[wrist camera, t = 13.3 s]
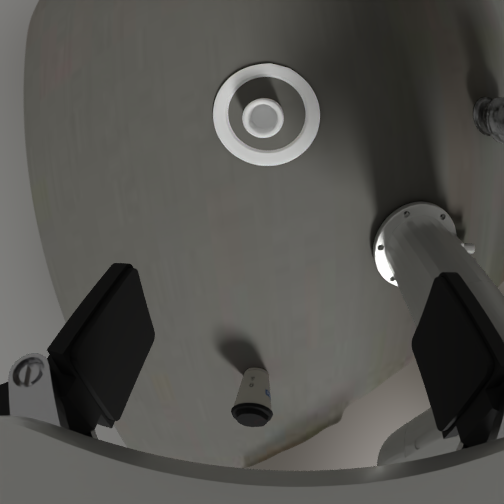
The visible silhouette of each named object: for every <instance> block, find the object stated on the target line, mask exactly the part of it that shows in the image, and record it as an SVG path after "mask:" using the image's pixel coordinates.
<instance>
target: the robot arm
mask: <svg viewBox="0 0 504 504" xmlns="http://www.w3.org/2000/svg"><path fill="white" fill-rule="evenodd" d="M405 211H406V212H405ZM404 212H405V213H404ZM379 245H380V246H379ZM474 251H475V246H474V244H472V243H465V244H463V242H462V241H461V240H460V239H459V238H458V237H457V234H456V228H455V225H454V223H453V220H452V219H451V217H450V216H449V215H448V213H447V212H446V211H444V210H443V209H442V208H441V207H439V206H437V205H436V204H433V203H430V202H413V203H409V204H406V205H404V206H402V207H400V208H398V209H396V210H395V211H394V212H393V213H391V214H390V215H389V216H388V217H387V218H386V219H385V221H384V222H383V223H382V225H381V226H380V228H379V229H378V232H377V234H376V237H375V240H374V244H373V257H374V262H375V265H376V267H377V269H378V271H379V273H380V275H381V276H382V277H383V278H384V279H385V280H386V281H388V282H389V283H391V284H393V285H396V286H398V287H399V289H400V291H401V293H402V295H403V298H404V300H405V302H406V304H407V306H408V309H409V311H410V313H411V316H412V318H413V320H414V322H415V325H416V327H417V329H416V331H415V334H414V336H413V339H412V350H413V353H414V355H415V358H416V361H417V364H418V367H419V370H420V373H421V376H422V379H423V382H424V385H425V388H426V392H427V395H428V398H429V402H430V405H431V408H429V409H428V410H426V411H425V412H423V413H422V414H420V415H418V416H417V417H415V418H414V419H412V420H411V421H409V422H408V423H406V424H405V425H403V426H402V427H400V428H399V429H397V430H396V431H395V432H394V433H392V434H391V435H390V436H389V437H388V438H387V440H386V441H385V442H384V444H383V445H382V447H381V449H380V452H379V456H378V461H377V466H374V467H365V468H354V469H341V470H320V471H278V470H258V469H244V468H233V467H224V466H216V465H209V464H202V463H195V462H189V461H183V460H178V459H173V458H168V457H163V456H158V455H154V454H149V453H145V452H141V451H137V450H133V449H130V448H125V447H122V446H119V445H115V444H112V443H108V442H105V441H102V440H98V438H97V435H96V433H95V430H94V429H95V427H96V425H97V424H99V425H102V426H106V427H109V428H112V427H113V424H114V422H115V421H118V420H119V419H120V417H121V415H122V413H123V410H124V408H125V406H126V403H127V401H128V398H129V396H130V394H131V391H132V389H133V387H134V384H135V382H136V380H137V378H138V375H139V373H140V371H141V368H142V366H143V364H144V362H145V359H146V357H147V355H148V353H149V351H150V348H151V346H152V344H153V342H154V338H155V332H154V328H153V325H152V321H151V318H150V315H149V311H148V308H147V304H146V300H145V297H144V293H143V289H142V285H141V282H140V278H139V274H138V271H137V269H134V268H133V266H132V265H131V264H124V263H114V264H112V265H111V267H110V268H109V269H108V270H107V271H106V273H105V274H104V275H103V276H102V278H101V279H100V280H99V281H98V282H97V284H96V285H95V286H94V287H93V289H92V290H91V291H90V292H89V294H88V295H87V296H86V298H85V299H84V300H83V301H82V303H81V304H80V305H79V307H78V308H77V309H76V310H75V312H74V313H73V314H72V316H71V317H70V318H69V320H68V321H67V322H66V324H65V325H64V327H63V328H62V329H61V331H60V332H59V333H58V335H57V336H56V338H55V339H54V340H53V342H52V343H51V345H50V346H49V347H48V349H47V351H48V352H49V354H50V355H49V356H48V358H47V359H46V358H45V357H44V356H43V355H41V354H38V353H32V354H28V355H25V356H23V357H21V358H20V359H19V360H17V361H16V362H15V364H14V365H13V366H12V368H11V370H10V372H9V379H8V382H6V383H4V384H1V385H0V504H504V295H503V294H502V293H501V291H500V290H499V289H498V287H497V286H496V285H495V284H494V283H493V281H492V280H491V279H490V278H489V276H488V275H487V274H486V273H485V271H484V270H483V269H482V268H481V267H480V265H479V264H478V263H477V261H476V259H475V258H473V257H472V256H471V255H470V254H473V253H474Z"/></svg>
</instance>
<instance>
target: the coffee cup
mask: <svg viewBox="0 0 504 504" xmlns="http://www.w3.org/2000/svg"><path fill="white" fill-rule="evenodd" d="M231 412H232V415H233V417H234V418H235V419H236V420H237V421H238V422H239V423H240V424H242V425H245V426H249V427H258V426H264V425H265V424H266V423H267V422H268V421H269V420H270V419H271V418H272V415H273V413H272V411H271V398H270V384H269V374H268V372H267V371H265V370H264V369H261V368H249V369H247V370H246V371H245V372H244V375H243V379H242V382H241V385H240V388H239V391H238V395H237V398H236V401H235V404H234V407H233V408H232V410H231Z"/></svg>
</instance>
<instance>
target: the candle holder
mask: <svg viewBox="0 0 504 504" xmlns="http://www.w3.org/2000/svg"><path fill="white" fill-rule="evenodd" d="M259 77H274V78H278V79H281V80H283V81H285V82H287V83H289V84H290V85H291V86H293V87H294V88H295V89H296V90H297V92H298V93H299V94H300V96H301V98H302V100H303V102H304V106H305V112H306V116H305V123H304V126H303V129H302V131H301V132H300V134H299V135H298V137H297V138H296V139H295V140H294V141H293V142H291V143H290V144H288V145H287V146H285V147H283V148H280V149H276V150H258V149H255V148H252V147H250V146H248V145H246V144H245V143H243V142H242V141H241V140H240V139H239V138H238V137H237V136H236V135H235V134H234V132H233V130H232V128H231V126H230V123H229V119H228V107H229V103H230V100H231V98H232V96H233V94H234V93H235V91H236V90H237V89H238V88H239V87H240V86H241V85H243V84H244V83H246V82H247V81H249V80H252V79H254V78H259ZM283 120H284V114H283V110H282V108H281V106H280V105H279V104H278V103H277V102H276V101H274V100H272V99H269V98H260V99H256V100H254V101H252V102H250V103H249V104H248V105H247V106H246V107H245V109H244V111H243V115H242V121H243V125H244V127H245V129H246V130H247V131H248V132H249V133H250V134H252V135H253V136H256V137H259V138H267V137H271V136H273V135H275V134H276V133H277V132H278V131H279V130H280V129H281V127H282V125H283ZM213 121H214V126H215V130H216V132H217V135H218V137H219V139H220V140H221V142H222V143H223V145H224V146H225V147H226V148H227V149H228V150H229V151H230V152H231V153H232V154H234V155H235V156H236V157H238V158H240V159H241V160H243V161H246V162H248V163H251V164H255V165H261V166H273V165H279V164H283V163H286V162H289V161H291V160H293V159H295V158H297V157H298V156H300V155H301V154H302V153H303V152H304V151H305V150H306V149H307V148H308V147H309V146H310V145H311V143H312V142H313V140H314V138H315V136H316V134H317V131H318V128H319V123H320V108H319V103H318V100H317V97H316V95H315V93H314V91H313V89H312V88H311V86H310V85H309V84H308V83H307V82H306V81H305V80H304V79H303V78H302V77H301V76H300V75H299V74H297V73H296V72H294V71H293V70H292V69H290V68H287V67H284V66H280V65H276V64H272V63H266V64H258V65H253V66H249V67H246V68H244V69H242V70H240V71H238V72H236V73H235V74H233V75H232V76H231V77H230V78H229V79H228V80H227V81H226V82H225V83H224V84H223V85H222V87H221V88H220V90H219V92H218V94H217V96H216V99H215V102H214V107H213Z"/></svg>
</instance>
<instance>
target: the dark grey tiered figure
mask: <svg viewBox="0 0 504 504" xmlns="http://www.w3.org/2000/svg"><path fill="white" fill-rule="evenodd" d="M473 118H474V122H475V125H476V127H477V129H478V130H479V131H480V132H481V133H482V134H484V135H487V136H492V137H493V139H495V140H496V141H497V142H500V143H504V98H502V97H498V98H495V99H491V98H489V97H483V98H480V99H479V100H478V101H477V102H476V104H475V106H474V111H473Z"/></svg>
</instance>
